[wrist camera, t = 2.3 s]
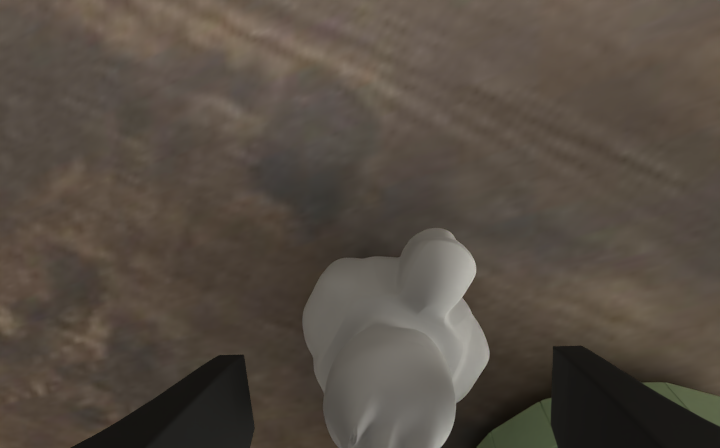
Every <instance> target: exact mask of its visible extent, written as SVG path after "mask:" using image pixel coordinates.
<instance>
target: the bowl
mask: <svg viewBox="0 0 720 448" xmlns="http://www.w3.org/2000/svg"><path fill="white" fill-rule="evenodd" d="M641 383H643V384H644V385H646V386H648V387H649V388H651V389H653V390H654V391H656V392H658V393H659V394H661V395H663V396H665V397H666V398H668V399H670V400H671V401H673V402H675V403H677V404H678V405H680V406H682V407H684V408H686V409H688V410H689V411H691V412H693V413H695V414H697V415H699V416H700V417H702V418H704V419H706V420H708V421H710V422H712V423H714V424H716V425H718V426H720V396H717V395H713V394H709V393H705V392H701V391H697V390H693V389H690V388H686V387H682V386H678V385H674V384H670V383H667V382H664V383H663V382H641ZM476 448H558V447H557V443H556V440H555V437H554V434H553V431H552V427H551V398H547V399H544V400H541V402H537V403H535V404H533V405H532V406H530V407H529V408H527V409H525V410H524V411H522V412H521V413H519V414H517V415H516V416H514V417H512V418H511V419H509V420H508V421H506V422H504V423H503V424H501V425H500V426H498V427H496V428H495V429H493V430H492V431H491V432H489V433H488V434H487V435H486V437H485V438H484V439H483V440H482V441H481V442H480V444H479V445H478V446H477V447H476Z"/></svg>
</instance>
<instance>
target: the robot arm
mask: <svg viewBox="0 0 720 448" xmlns="http://www.w3.org/2000/svg"><path fill="white" fill-rule="evenodd" d="M551 427H552V431H553V434H554V437H555V440H556V443H557V447H558V448H720V426H718V425H716V424H714V423H712V422H710V421H708V420H706V419H704V418H702V417H700V416H699V415H697V414H695V413H693V412H691V411H689V410H688V409H686V408H684V407H682V406H680V405H678V404H677V403H675V402H673V401H671V400H670V399H668V398H666V397H665V396H663V395H661V394H659V393H658V392H656V391H654V390H653V389H651V388H649V387H648V386H646V385H644V384H643V383H641V382H640V381H638V380H636V379H635V378H633V377H632V376H630V375H628V374H627V373H625V372H624V371H622V370H621V369H619V368H617V367H616V366H614V365H613V364H611V363H609V362H608V361H606V360H605V359H603V358H602V357H600V356H598V355H597V354H595V353H593V352H592V351H590V350H588V349H586V348H585V347H583V346H553V368H552V396H551ZM254 429H255V427H254V420H253V413H252V406H251V400H250V393H249V386H248V379H247V373H246V366H245V359H244V355H219V356H217V357H215V358H213V359H212V360H210V361H209V362H207V363H205V364H204V365H202V366H201V367H199V368H198V369H196V370H195V371H194V372H192V373H191V374H189V375H188V376H186V377H185V378H183V379H182V380H181V381H179V382H178V383H176V384H175V385H173V386H172V387H170V388H169V389H167V390H166V391H165V392H163V393H162V394H160V395H159V396H157V397H156V398H154V399H153V400H151V401H150V402H148V403H146V404H145V405H143V406H142V407H140V408H139V409H137V410H135V411H134V412H132V413H131V414H129V415H128V416H126V417H124V418H123V419H121V420H120V421H118V422H116V423H115V424H113V425H111V426H110V427H108V428H106V429H104V430H103V431H101V432H99V433H97V434H96V435H94V436H92V437H90V438H88V439H86V440H84V441H82V442H81V443H79V444H77V445H75V446H73V447H71V448H250V444H251V440H252V437H253V433H254Z"/></svg>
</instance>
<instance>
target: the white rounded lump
mask: <svg viewBox="0 0 720 448" xmlns="http://www.w3.org/2000/svg"><path fill="white" fill-rule="evenodd" d="M475 275H476V264H475V261H474V259H473V257H472V255H471V253H470V252H469V251H468V250H467V249H466V248H465V246H463V245H462V244H461V243H459V242H458V241H457V240H456V239H455V237H454V236H453V234H452V233H451V232H449V231H447V230H445V229H442V228H430V229H426V230H424V231H422V232H419V233H418V234H416V235H414V236H413V237H412V238H411V239H410V240H409V241H408V243H407V244H406V246H405V247H404V249H403V251H402V253H401V256H400V257H385V256H373V257H368V258H364V259H360V258H342V259H338V260H336V261H334V262H333V263H331V264H330V265H329V266H328V267H327V268H326V270H325V271H324V272H323V274H322V275H321V276H320V278H319V280H318V282H317V283H316V285H315V287H314V289H313V291H312V293H311V295H310V297H309V299H308V301H307V303H306V306H305V308H304V311H303V319H302V324H303V332H304V338H305V342H306V344H307V347H308V349H309V351H310V352H311V354H312V356H313V361H314V373H315V376H316V378H317V380H318V382H319V384H320V386H321V388H322V390H323V392H324V399H323V413H324V418H325V422H326V426H327V429H328V431H329V434H330V436H331V438H332V440H333V441H334V443H335V444H336V445H337V447H338V448H441V446H442V445H443V444H444V443H445V441H446V440H447V438H448V436H449V435H450V432H451V430H452V427H453V425H454V421H455V413H456V403H457V402H459V401H460V400H462V399H463V398H464V397H465V396H466V395H467V393H468V392H469V391H470V389H471V388H472V386H473V385H474V383H475V382H476V380H477V379H478V377H479V376H480V374H481V373H482V371H483V370H484V368H485V367H486V365H487V363H488V360H489V356H490V351H489V347H488V343H487V340H486V338H485V335H484V333H483V331H482V329H481V327H480V325H479V323H478V322H477V320H476V319H475V317H474V316H473V315H472V313H471V310H470V308H469V306H468V304H467V303H466V302H465V301H464V299H463V298H462V296H463V295H464V294H465V292H466V291H467V289H468V288H469V286H470V284H471V283H472V281H473V279H474V277H475Z"/></svg>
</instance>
